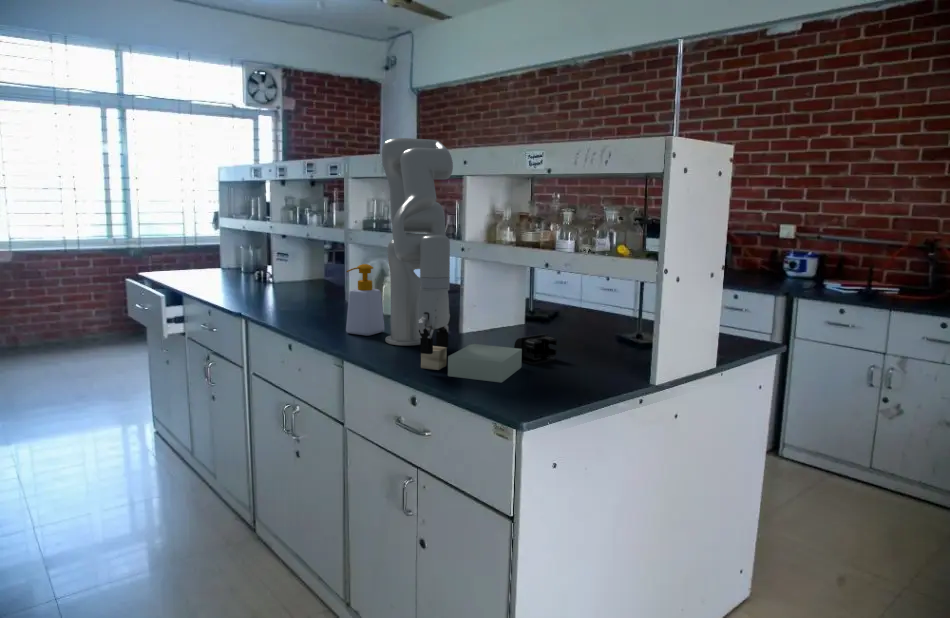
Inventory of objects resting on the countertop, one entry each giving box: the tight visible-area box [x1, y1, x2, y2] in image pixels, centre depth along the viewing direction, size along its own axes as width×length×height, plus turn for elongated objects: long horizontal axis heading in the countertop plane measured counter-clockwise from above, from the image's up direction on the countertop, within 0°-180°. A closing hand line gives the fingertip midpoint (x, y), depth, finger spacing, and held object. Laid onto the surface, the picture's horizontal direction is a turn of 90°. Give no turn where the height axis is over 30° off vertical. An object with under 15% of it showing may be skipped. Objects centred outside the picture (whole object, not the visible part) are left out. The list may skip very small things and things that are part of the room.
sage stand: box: [447, 343, 522, 383], centre depth 170 cm, size 16×14×5 cm
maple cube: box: [420, 345, 448, 371], centre depth 174 cm, size 5×5×5 cm
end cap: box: [513, 333, 558, 366], centre depth 184 cm, size 10×7×7 cm
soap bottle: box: [345, 263, 385, 337], centre depth 212 cm, size 10×14×22 cm
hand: (434, 350), depth 173 cm, fingers open, 9 cm apart
